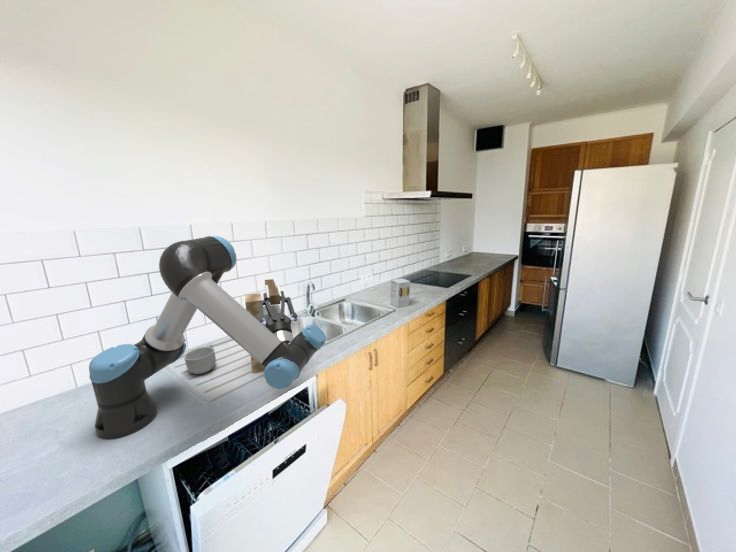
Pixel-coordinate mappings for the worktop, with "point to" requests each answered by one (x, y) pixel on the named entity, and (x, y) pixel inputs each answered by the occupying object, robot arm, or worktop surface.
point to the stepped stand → (253, 309)
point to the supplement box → (400, 292)
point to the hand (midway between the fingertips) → (272, 287)
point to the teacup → (200, 359)
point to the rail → (273, 292)
